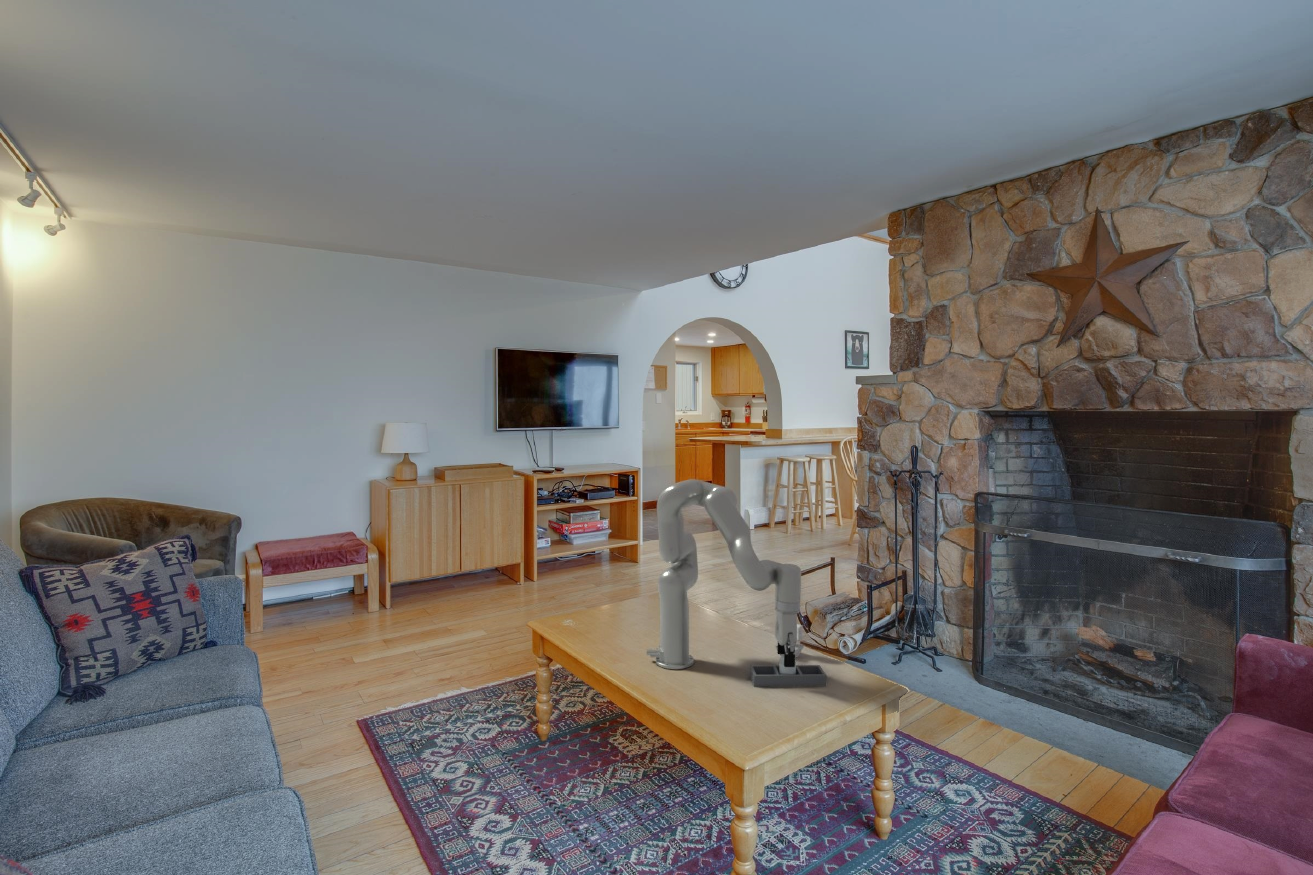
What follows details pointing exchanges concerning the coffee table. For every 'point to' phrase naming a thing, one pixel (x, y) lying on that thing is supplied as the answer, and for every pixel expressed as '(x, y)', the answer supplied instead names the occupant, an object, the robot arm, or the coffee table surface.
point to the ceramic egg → (786, 668)
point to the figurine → (799, 637)
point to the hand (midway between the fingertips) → (785, 660)
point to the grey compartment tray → (787, 676)
